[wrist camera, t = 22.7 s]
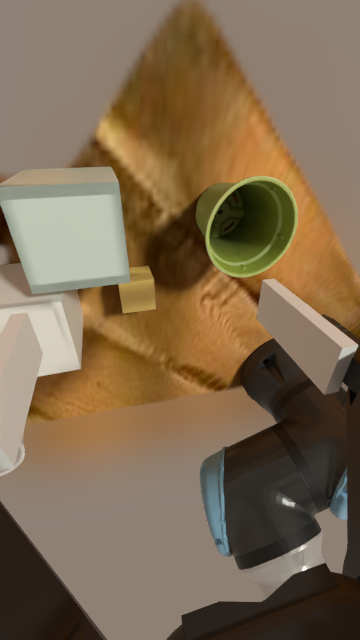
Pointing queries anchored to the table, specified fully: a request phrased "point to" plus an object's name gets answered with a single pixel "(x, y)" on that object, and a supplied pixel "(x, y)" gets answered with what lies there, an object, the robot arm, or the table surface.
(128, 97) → the table surface
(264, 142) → the table surface
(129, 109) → the table surface
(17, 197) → the sage cover
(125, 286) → the mustard cube
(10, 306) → the white cover
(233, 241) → the plant pot
